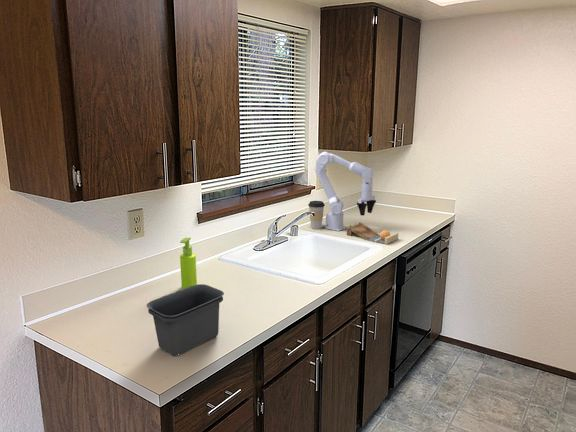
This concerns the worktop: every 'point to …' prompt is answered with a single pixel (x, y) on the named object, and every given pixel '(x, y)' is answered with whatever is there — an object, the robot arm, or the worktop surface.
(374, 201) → the robot arm
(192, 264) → the soap dispenser
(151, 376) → the worktop surface
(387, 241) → the mat
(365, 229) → the ramp
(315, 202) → the coffee cup
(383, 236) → the ball
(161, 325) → the storage bin
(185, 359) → the worktop surface
